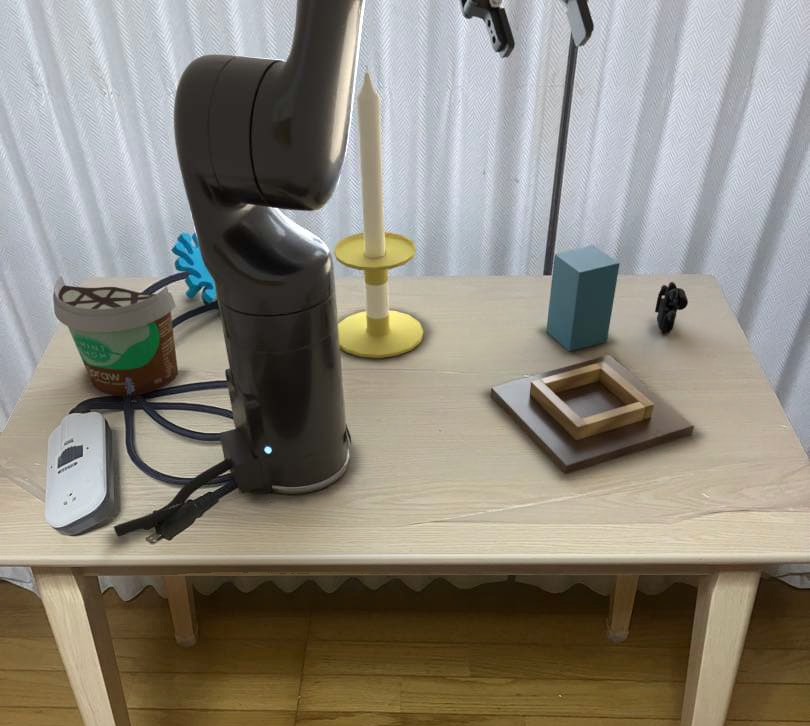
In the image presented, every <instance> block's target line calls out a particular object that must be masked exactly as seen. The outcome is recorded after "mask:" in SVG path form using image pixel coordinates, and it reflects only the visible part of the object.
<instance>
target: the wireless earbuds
mask: <svg viewBox="0 0 810 726" xmlns="http://www.w3.org/2000/svg"><path fill="white" fill-rule="evenodd" d="M688 303H689V300H688V297H687V294H686V291H685V290H684V288H681V287H677V285H676V283H675V282H674V281H670V282H669V283H668V286H667V284H663V285H661V287H660V290H659V292H658V295H657V299H656V303H655V309H654V313H656V314H657V316H656V322H657V325H658V329H659V331H660V334H661V335H662V336H665V335H666V334H669V333H670V332H672V330H673V329H674V325H675V322H676V318H677V312H678V311H683V310H685V309H686V308H687V307H688Z"/></svg>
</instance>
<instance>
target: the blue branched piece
mask: <svg viewBox="0 0 810 726" xmlns="http://www.w3.org/2000/svg"><path fill="white" fill-rule="evenodd" d="M192 241H193V242H194V243H192ZM193 244H194V245H195V246H194V245H193ZM171 252H172V254H174V255H176V256H178V257H177V258H176V260H174V268H175V270H176V271H177V272H181V273H182V272H185V273H187V274H189V275H188V276H187V277H185V279H184V282H185V284H186V286H187V287H188V289H187V290H186V292H185V296H186V297H187V298H188V299H191V300H192V299H194V298H195V297H196V295H197V294H198V293H199V292H200V291H201V290H202V289H203V288H204V287H205V288H206V289H205V290H204V291H203V292H202V293H201V298H202V299H203V300H204V301H205V302H206V303H208V304H211V303H212V302H214V300H215V299H216V290H215V285H214V281H213V279H212V277H211V275H210V274H209V272H208V270H207V269H206V267H205V265H204V262H203V260H202V257H201V253H200V249H199V245H198V241H197V236H196V232H195V231H194V233H192V235H190V233H188V232H182V233H180V235H179V236H178V237H177V242H176V243H175V244H174V246H172V247H171Z"/></svg>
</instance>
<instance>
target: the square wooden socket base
mask: <svg viewBox="0 0 810 726" xmlns="http://www.w3.org/2000/svg"><path fill="white" fill-rule="evenodd" d="M490 396H491V398H492V399H493V400H494V401H495V402H496V403H497V404H498V405H499V406H500V407H501V408H502V409H503V410H504V412H505V413H507V414H508V416H509V417H510V418H511V419H512V421H514V422H515V423H516V424H517V425H518V426H519V428H521V429H522V431H524V432H525V433H526V435H527V436H528V437H529V438H530V440H532V441H533V442H534V443H535V445H537V446H538V447H539V448H540V450H541V451H543V453H545V455H546V456H547V457H548V458H549V459H550V460H551V461H552V462H553V463H554V465H556V466H557V467H558V469H559V470H561V471H562V473H563V474H564V475H568V474H571V473H574V472H577V471H581V470H584V469H587V468H590V467H593V466H597V465H600V464H603V463H607V462H609V461H612V460H614V459H619V458H621V457H624V456H627V455H631V454H634V453H637V452H640V451H643V450H646V449H650V448H653V447H657V446H659V445H662V444H665V443H668V442H672V441H675V440H677V439H681V438H684V437H688V436H691V435H693V432H694V429H695V425H694V424H693V423H692V422H690V421H689V420H688V419H687V418H685V416H683V414H681V413H680V412H678V411H677V410H676V409H675V408H673V406H671V405H670V404H669V403H667V402H666V401H665V400H664V399H663V398H661V396H659V394H657V393H655V392H654V391H653V390H652V389H651V388H649V386H647V385H646V384H645V383H644V382H642V381H641V380H640V379H639V378H637V376H635V375H634V374H633V373H631V371H629V370H628V369H627V368H625V366H623V365H622V364H620V363H619V362H618V361H617V360H616V359H614V358H613V357H612V356H611V355H610V354H606V355H603V356H599V357H596V358H592V359H589V360H585V361H582V362H578V363H573V364H570V365H567V366H564V367H559V368H557V369H553V370H549V371H545V372H541V373H537V374H535V375H531V376H526V377H524V378H523V377H522V378H519V379H516V380H512V381H509V382H506V383H502V384H498V385H494V386H491V387H490Z"/></svg>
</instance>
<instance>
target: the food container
mask: <svg viewBox="0 0 810 726" xmlns="http://www.w3.org/2000/svg"><path fill="white" fill-rule="evenodd" d="M52 301H53V311H54V315H55V318H56V319H57V320H58V321H59V322H60V323H61V324H63V325H64V326H67V328H68V330H69V332H70V335H71V337H72V340H73V343H74V345H75V347H76V349H77V351H78V354H79V356H80V358H81V361H82V363H83V365H84V368H85V370H86V372H87V375H88V377H89V380H90V381H91V384H92V386H93V387H94V388H95V389H96V390H97V391H99V392H100V393H103V394H106V395H109V396H116V397H132V396H133V397H134V396H140V395H144V394H148V393H152V392H155V391H156V390H159V389H161V388H163V387H165V386H167V385H168V384H170V383H172V382H173V380H175V379H176V378H177V377H178V375H179V370H178V361H177V353H176V344H175V336H174V327H173V319H172V311H173V310H174V309H176V307H177V305H176V302H175V300H174V297H173V295H172V292H170V291H169V288H168V286H165V287H164V288H162V289H161V290H160V291H159V292H157V293H147V292H139V291H135V290H130V289H126V288H121V287H117V286H101V287H99V286H98V287H82V286H71V285H66V283H65V280H64V279H63V276H60V277H59V278H58V279H57V280H56V282H55V283H54V287H53V293H52ZM126 377H130V378H131V379H132V381H133V383H134V385H135V387H134V388H135V391H134V392H132V393H131V395H130V394H127V389H126V388H125V387H126V383H125V378H126Z"/></svg>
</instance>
